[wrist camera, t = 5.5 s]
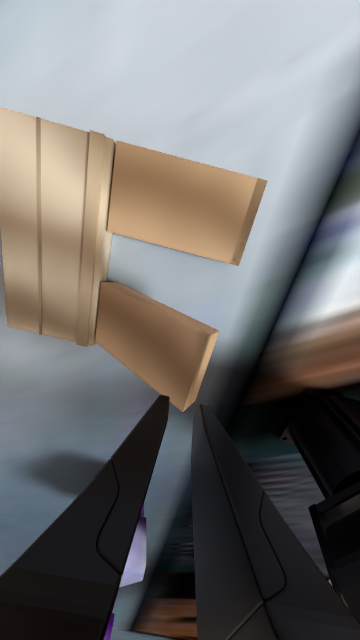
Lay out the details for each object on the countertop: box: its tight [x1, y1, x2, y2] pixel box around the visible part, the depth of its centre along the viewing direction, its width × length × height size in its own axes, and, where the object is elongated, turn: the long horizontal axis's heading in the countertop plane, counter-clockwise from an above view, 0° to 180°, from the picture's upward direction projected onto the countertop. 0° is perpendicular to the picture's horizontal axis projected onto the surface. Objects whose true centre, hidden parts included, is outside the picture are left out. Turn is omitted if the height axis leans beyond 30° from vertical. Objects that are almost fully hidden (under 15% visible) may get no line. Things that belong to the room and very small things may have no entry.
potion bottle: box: [104, 504, 146, 640], centre depth 19 cm, size 9×9×12 cm
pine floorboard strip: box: [0, 107, 116, 346], centre depth 14 cm, size 14×7×2 cm, turn 166°
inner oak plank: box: [95, 282, 219, 412], centre depth 13 cm, size 5×9×1 cm
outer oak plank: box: [107, 141, 267, 266], centre depth 13 cm, size 5×9×1 cm, turn 76°
